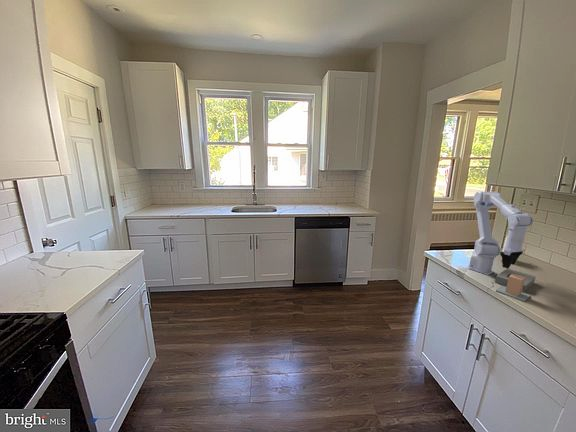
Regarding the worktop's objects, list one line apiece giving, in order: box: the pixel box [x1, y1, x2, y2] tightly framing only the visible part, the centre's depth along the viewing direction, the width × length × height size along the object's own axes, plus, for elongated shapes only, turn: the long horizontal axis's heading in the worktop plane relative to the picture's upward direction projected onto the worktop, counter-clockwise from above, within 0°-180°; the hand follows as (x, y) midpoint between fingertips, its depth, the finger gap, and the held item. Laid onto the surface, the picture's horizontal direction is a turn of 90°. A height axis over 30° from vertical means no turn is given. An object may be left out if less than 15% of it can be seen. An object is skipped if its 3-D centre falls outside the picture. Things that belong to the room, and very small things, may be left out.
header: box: [494, 268, 536, 293], centre depth 121 cm, size 11×16×4 cm
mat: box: [495, 285, 531, 302], centre depth 111 cm, size 10×8×1 cm
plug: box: [505, 274, 525, 296], centre depth 110 cm, size 4×4×8 cm
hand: (508, 265), depth 116 cm, fingers open, 7 cm apart
